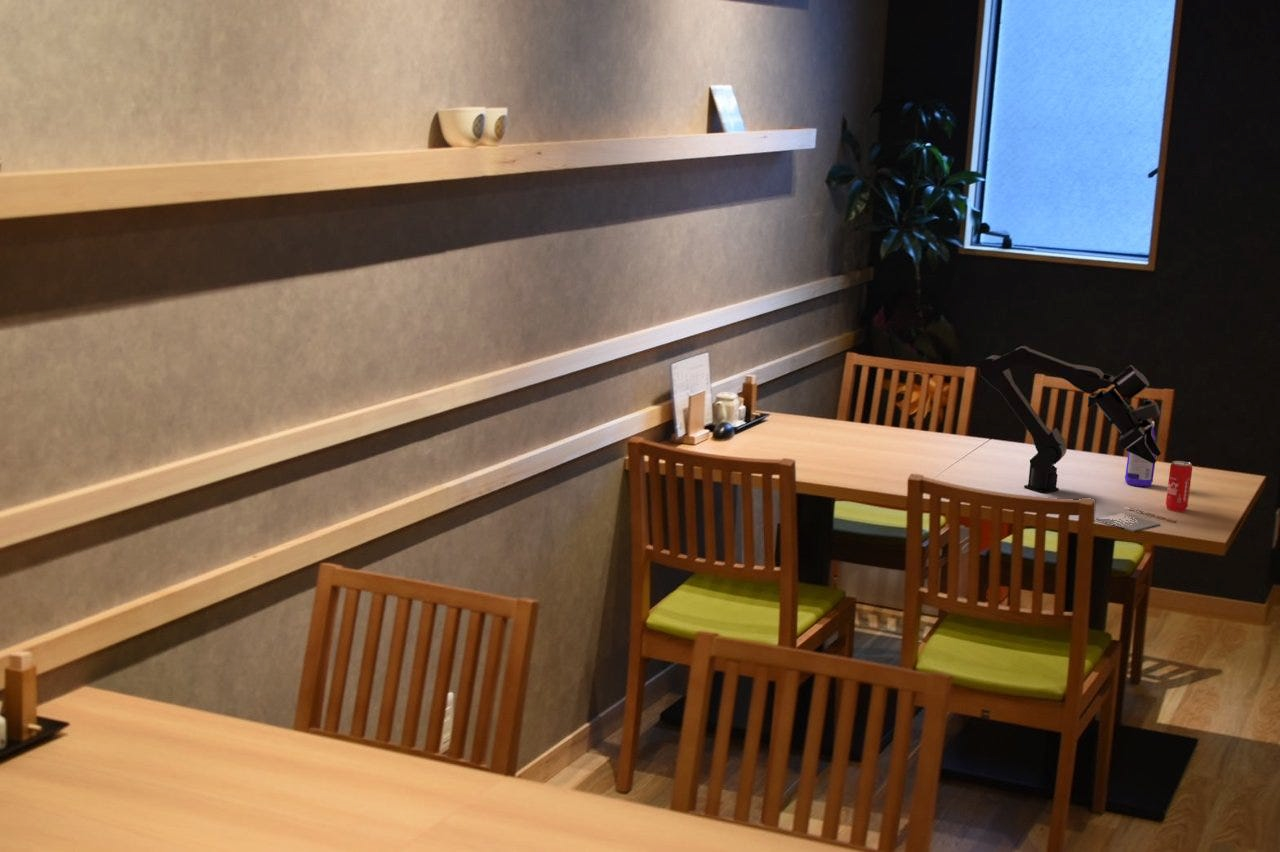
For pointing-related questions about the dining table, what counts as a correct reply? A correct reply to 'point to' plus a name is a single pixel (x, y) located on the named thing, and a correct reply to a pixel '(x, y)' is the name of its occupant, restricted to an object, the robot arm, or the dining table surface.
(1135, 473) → the bottle
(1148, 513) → the line
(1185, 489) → the beverage can
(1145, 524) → the mat
